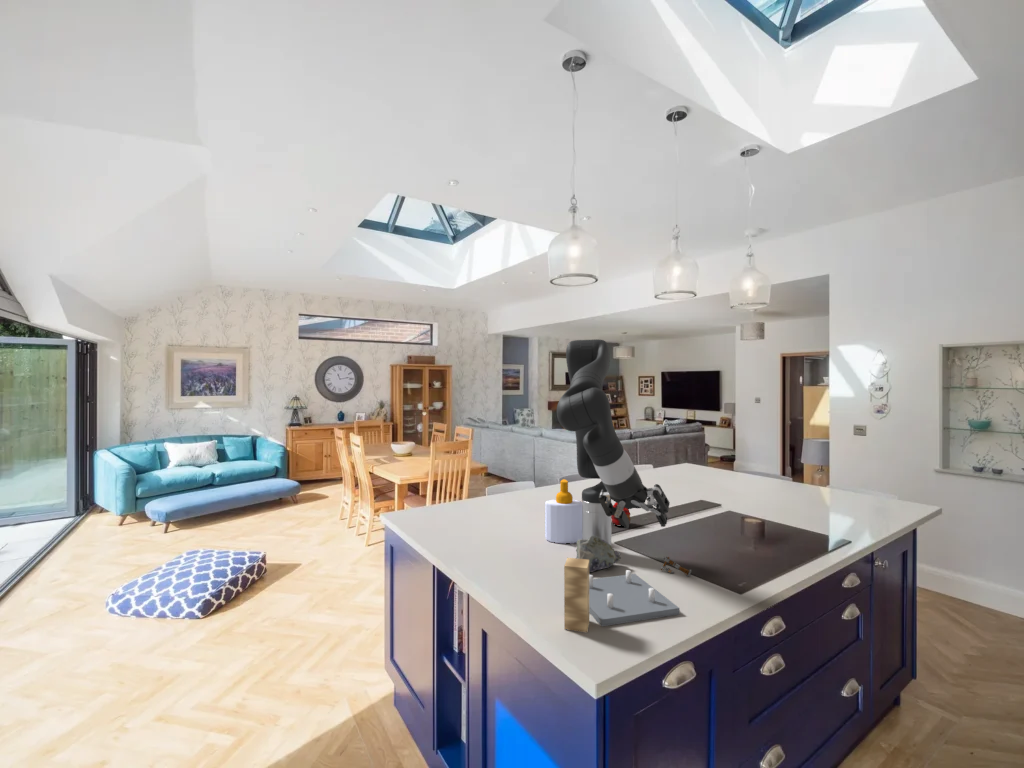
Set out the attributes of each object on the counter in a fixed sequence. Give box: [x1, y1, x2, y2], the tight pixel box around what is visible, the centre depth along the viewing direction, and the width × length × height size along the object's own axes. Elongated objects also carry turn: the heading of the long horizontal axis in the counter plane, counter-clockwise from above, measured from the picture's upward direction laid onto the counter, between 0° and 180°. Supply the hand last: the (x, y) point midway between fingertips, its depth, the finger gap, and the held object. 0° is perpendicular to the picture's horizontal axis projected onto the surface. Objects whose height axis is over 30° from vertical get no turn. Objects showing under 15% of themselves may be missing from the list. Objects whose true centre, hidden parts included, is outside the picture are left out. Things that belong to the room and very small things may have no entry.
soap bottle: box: [544, 478, 582, 545], centre depth 158 cm, size 13×8×20 cm, turn 84°
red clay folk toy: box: [611, 502, 631, 525], centre depth 175 cm, size 8×7×15 cm
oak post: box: [563, 557, 590, 633], centre depth 102 cm, size 5×5×14 cm
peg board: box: [589, 569, 680, 627], centre depth 114 cm, size 20×20×4 cm
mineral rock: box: [575, 535, 622, 573], centre depth 133 cm, size 13×11×10 cm
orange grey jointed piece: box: [660, 556, 692, 578], centre depth 130 cm, size 2×8×4 cm, turn 65°
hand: (645, 524), depth 102 cm, fingers open, 8 cm apart
